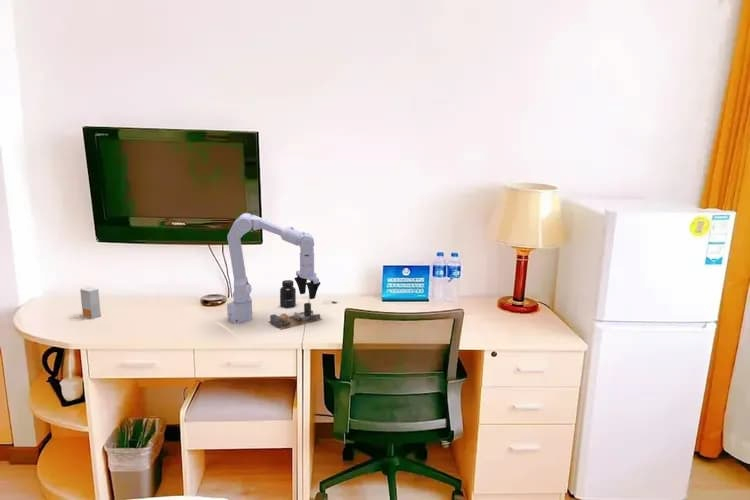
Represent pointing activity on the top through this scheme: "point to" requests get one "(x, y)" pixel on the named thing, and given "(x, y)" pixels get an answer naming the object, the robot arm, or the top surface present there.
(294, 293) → the supplement bottle
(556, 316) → the top surface
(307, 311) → the ram
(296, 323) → the bench
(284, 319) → the tan wooden ball
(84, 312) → the skincare box
